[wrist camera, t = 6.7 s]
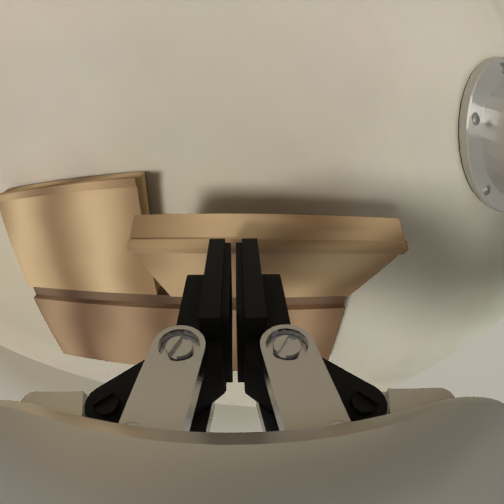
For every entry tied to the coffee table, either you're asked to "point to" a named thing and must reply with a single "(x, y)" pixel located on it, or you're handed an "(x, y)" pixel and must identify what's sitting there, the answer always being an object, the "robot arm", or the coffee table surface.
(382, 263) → the plank near
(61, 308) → the floor plank
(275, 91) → the coffee table surface
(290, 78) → the coffee table surface
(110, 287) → the plank far
